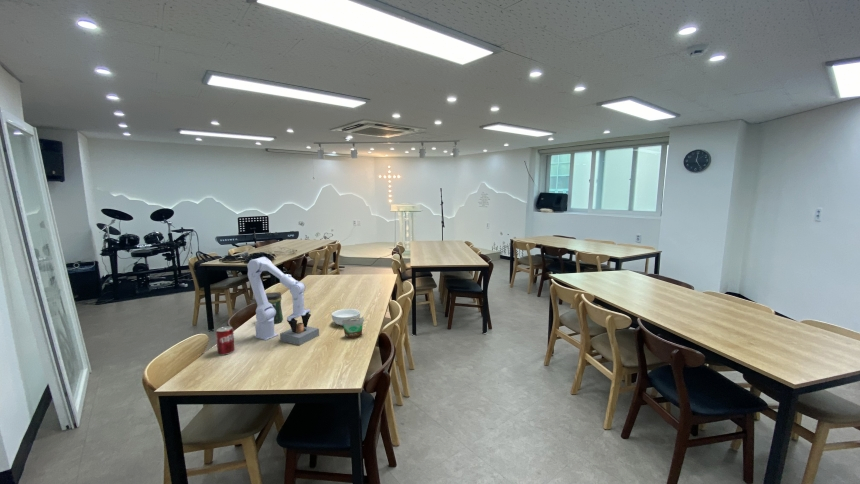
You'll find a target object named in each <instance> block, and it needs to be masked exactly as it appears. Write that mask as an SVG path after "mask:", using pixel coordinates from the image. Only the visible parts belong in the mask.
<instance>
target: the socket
mask: <svg viewBox="0 0 860 484" xmlns="http://www.w3.org/2000/svg"><path fill="white" fill-rule="evenodd" d="M319 336H320V328H318V327H314V326H309V325H307V327H304V332H302V333H300V334H299V333H296V332H292V329H291V328H290V329H287V330H285V331H283V332H280V333H279V338H280V339H279V340H280V341H281V342H284V343H289V344H292V345H296V346H297V345H298V346H301V345H303V344H305V343H307V342H309V341H311V340H313V339H315V338H317V337H319Z"/></svg>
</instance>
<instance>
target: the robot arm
mask: <svg viewBox="0 0 860 484" xmlns="http://www.w3.org/2000/svg"><path fill="white" fill-rule="evenodd" d="M246 266H247V267H246V268H247V278H248V282H249V284H250V287H251V290H252V292H253V296H254V299H255V302H256V305H257V307H256V309H255V314H256V315H255V319H256V322H255V336H254V338H256V339H259V340H264V341H268V340H270V339H271V338H275V337H277V336H278V335H279V333H276V332H275V323H274V316H275V315H276V310H275V309H274V308H273V306H272V304H271V303H269V302H268V299H267V296H266V291H265V288H264V284H263V281H262V279H261V274H262V272H269V273H270V274H272V275H273V276H275V278H277V279H278V280H279V283H280V284H281V285H283V286H284V287H286V288H287V289H288V290H289V293H290V294H291V297H292V313H291V314H289V315H288V316H286V321H287V323H288V325H289V327H290V329H292V332H296V325H297V323H298V320H297V318H299V317H301V323H303V324H304V327H307V326H308V323H309V320H310V318H311V309H309V308H307V309H305V295H304V292H305V291H306V285H305V284H304V283H303V281H299V280H296V279H295V278H294V277H292V274H289V273H288V274H287V273H284V272H283V271H282V270H281V269H279V268H278V267H277V266H276V265H275V264H274V263H273V262H272V261H271V260H270V259H269V258H268V257H266V256H261V257H258V258H252V259H250V260H249V261H248V263H247V264H246Z"/></svg>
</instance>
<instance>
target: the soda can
mask: <svg viewBox="0 0 860 484" xmlns="http://www.w3.org/2000/svg"><path fill="white" fill-rule="evenodd" d="M234 334H235V333H234V328H233V326H222V327H219V328H217V329H216V331H215V339H216V340H215V341H216V350H217V351H216V353H217V354H218V355H220V356H226V355H231V354H232V353H233V352H234V351H235V349H236V348H235V335H234Z"/></svg>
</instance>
